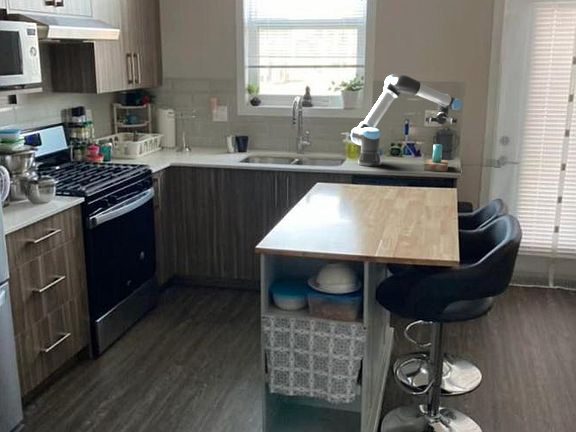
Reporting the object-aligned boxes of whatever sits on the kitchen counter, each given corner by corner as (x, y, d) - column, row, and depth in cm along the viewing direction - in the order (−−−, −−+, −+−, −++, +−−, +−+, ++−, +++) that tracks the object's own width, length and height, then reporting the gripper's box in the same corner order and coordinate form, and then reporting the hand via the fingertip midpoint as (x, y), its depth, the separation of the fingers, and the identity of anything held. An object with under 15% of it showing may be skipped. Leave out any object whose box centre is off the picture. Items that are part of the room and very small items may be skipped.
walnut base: (424, 170, 399) (424, 163, 398) (425, 165, 416) (426, 159, 415) (446, 171, 396) (447, 165, 395) (447, 166, 412) (448, 160, 411)
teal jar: (432, 162, 403) (433, 145, 400) (432, 161, 408) (433, 144, 405) (440, 163, 401) (442, 145, 399) (441, 161, 407) (442, 144, 404)
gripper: (460, 124, 432) (459, 128, 412) (422, 123, 438) (420, 126, 418) (461, 113, 430) (460, 116, 410) (423, 112, 436) (421, 114, 416)
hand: (440, 121), depth 414 cm, fingers open, 13 cm apart
